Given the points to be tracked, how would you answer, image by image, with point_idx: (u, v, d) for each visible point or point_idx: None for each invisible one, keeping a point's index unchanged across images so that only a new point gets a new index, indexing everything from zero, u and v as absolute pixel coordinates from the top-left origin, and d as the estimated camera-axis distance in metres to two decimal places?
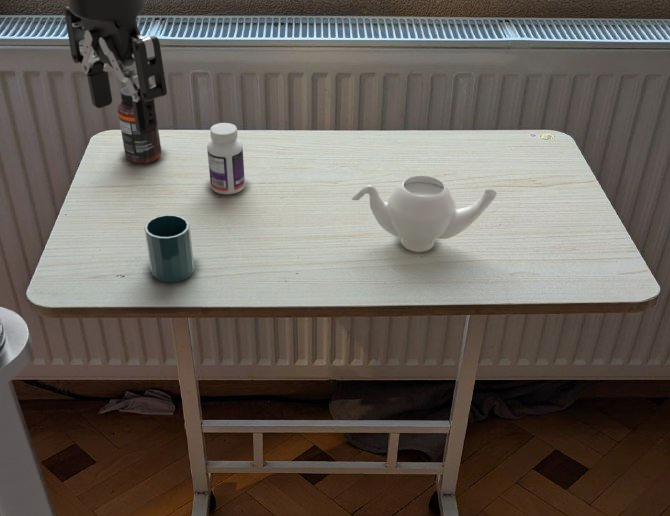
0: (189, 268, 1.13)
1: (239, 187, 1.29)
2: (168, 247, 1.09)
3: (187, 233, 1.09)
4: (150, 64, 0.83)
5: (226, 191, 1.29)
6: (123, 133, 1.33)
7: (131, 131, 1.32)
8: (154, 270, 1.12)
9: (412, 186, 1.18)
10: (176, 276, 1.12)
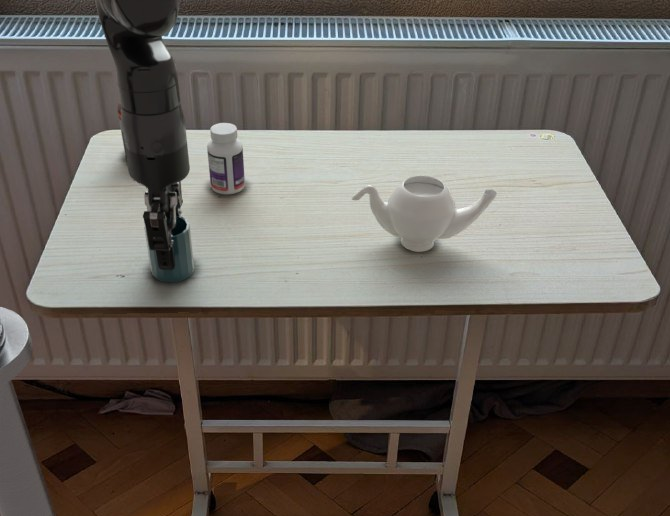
0: (189, 268, 1.13)
1: (239, 187, 1.29)
2: None
3: (187, 233, 1.09)
4: (155, 229, 1.03)
5: (226, 191, 1.29)
6: None
7: None
8: (154, 270, 1.12)
9: (412, 186, 1.18)
10: (176, 276, 1.12)
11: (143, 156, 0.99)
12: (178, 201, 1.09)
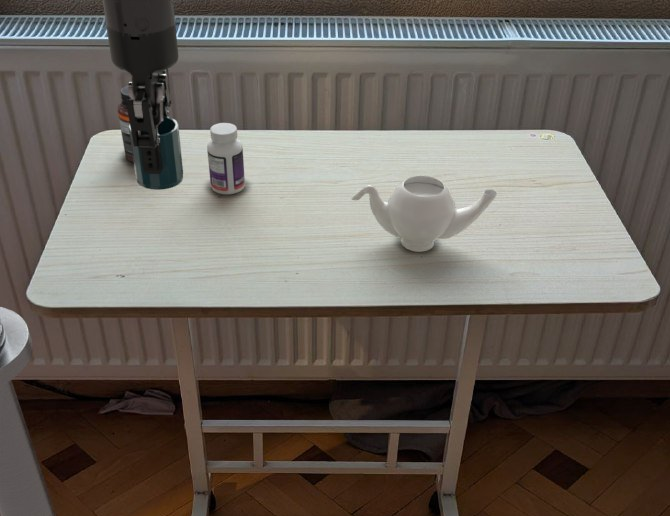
0: (178, 175, 1.03)
1: (239, 187, 1.29)
2: None
3: (176, 133, 1.00)
4: (140, 121, 0.93)
5: (226, 191, 1.29)
6: (123, 133, 1.33)
7: None
8: (139, 176, 1.02)
9: (412, 186, 1.18)
10: (163, 183, 1.02)
11: (126, 35, 0.89)
12: (166, 97, 0.99)
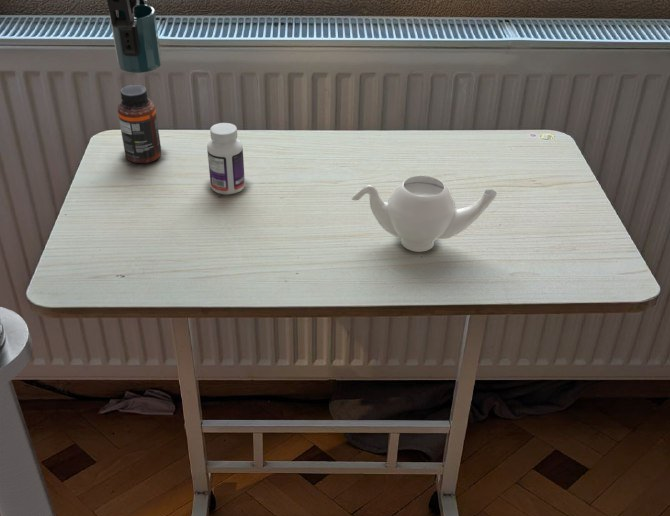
0: (155, 59, 1.12)
1: (239, 187, 1.29)
2: None
3: (152, 18, 1.09)
4: (116, 1, 1.03)
5: (226, 191, 1.29)
6: (123, 133, 1.33)
7: (131, 131, 1.32)
8: (120, 60, 1.12)
9: (412, 186, 1.18)
10: (142, 66, 1.12)
11: None
12: None
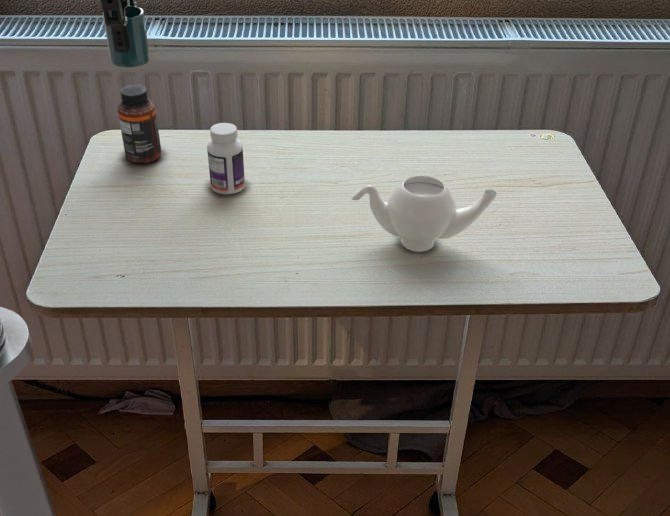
0: (144, 55, 1.25)
1: (239, 187, 1.29)
2: None
3: (141, 18, 1.22)
4: (109, 2, 1.15)
5: (226, 191, 1.29)
6: (123, 133, 1.33)
7: (131, 131, 1.32)
8: (112, 56, 1.24)
9: (412, 186, 1.18)
10: (132, 61, 1.24)
11: None
12: None
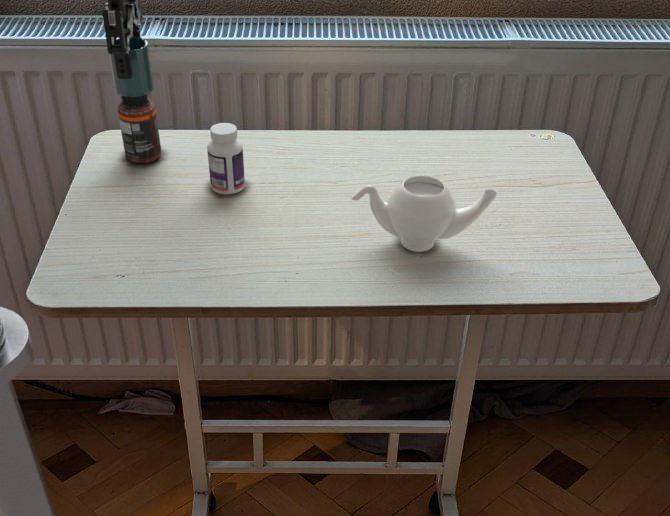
0: (148, 85, 1.28)
1: (239, 187, 1.29)
2: None
3: (145, 49, 1.25)
4: (113, 28, 1.17)
5: (226, 191, 1.29)
6: (123, 133, 1.33)
7: (131, 131, 1.32)
8: (117, 86, 1.27)
9: (412, 186, 1.18)
10: (137, 91, 1.27)
11: None
12: (137, 16, 1.24)
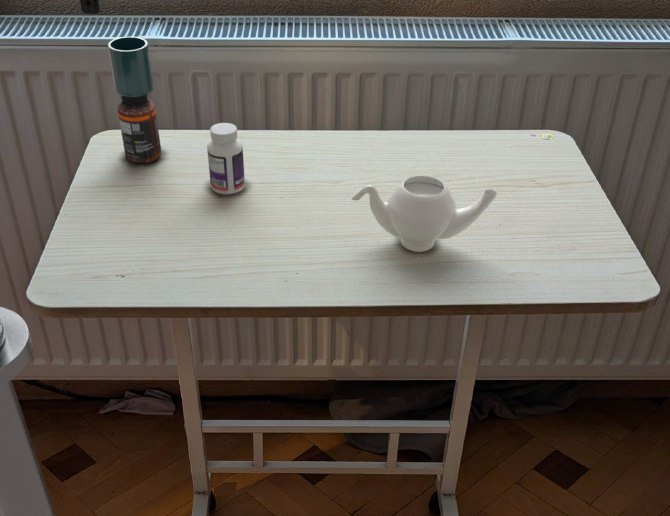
0: (148, 85, 1.28)
1: (239, 187, 1.29)
2: (128, 60, 1.24)
3: (145, 49, 1.25)
4: None
5: (226, 191, 1.29)
6: (123, 133, 1.33)
7: (131, 131, 1.32)
8: (117, 86, 1.27)
9: (412, 186, 1.18)
10: (136, 91, 1.27)
11: None
12: None
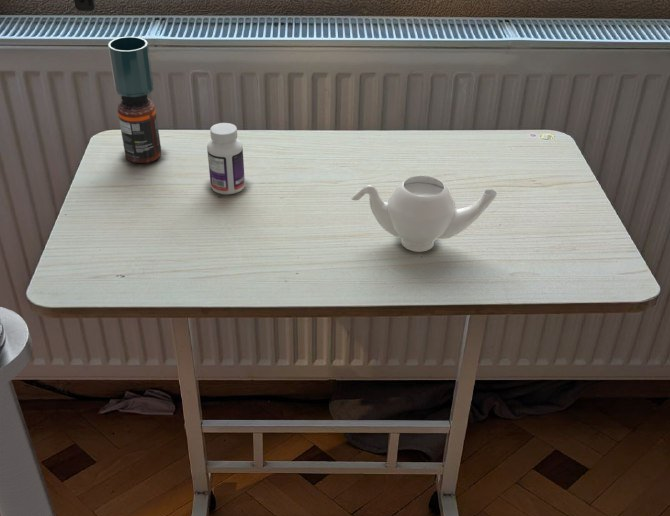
0: (148, 85, 1.28)
1: (239, 187, 1.29)
2: (128, 60, 1.24)
3: (145, 49, 1.25)
4: None
5: (226, 191, 1.29)
6: (123, 133, 1.33)
7: (131, 131, 1.32)
8: (117, 86, 1.27)
9: (412, 186, 1.18)
10: (137, 91, 1.27)
11: None
12: None
